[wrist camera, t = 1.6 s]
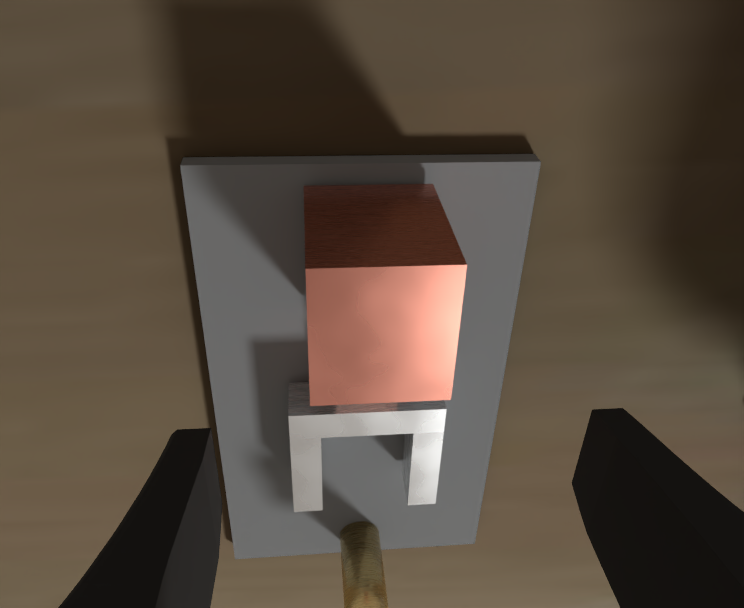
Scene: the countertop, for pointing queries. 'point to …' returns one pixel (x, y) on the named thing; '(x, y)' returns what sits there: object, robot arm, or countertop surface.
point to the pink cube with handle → (377, 329)
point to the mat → (290, 343)
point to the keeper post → (362, 566)
